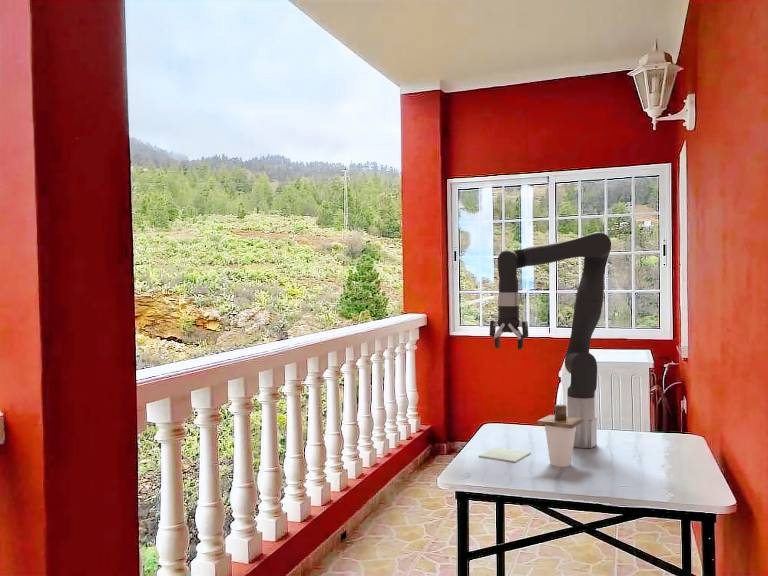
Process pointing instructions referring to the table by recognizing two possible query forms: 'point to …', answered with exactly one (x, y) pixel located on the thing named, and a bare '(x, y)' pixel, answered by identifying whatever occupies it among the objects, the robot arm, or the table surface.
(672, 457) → the table surface
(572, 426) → the lid
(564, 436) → the foam cup
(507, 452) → the mat
